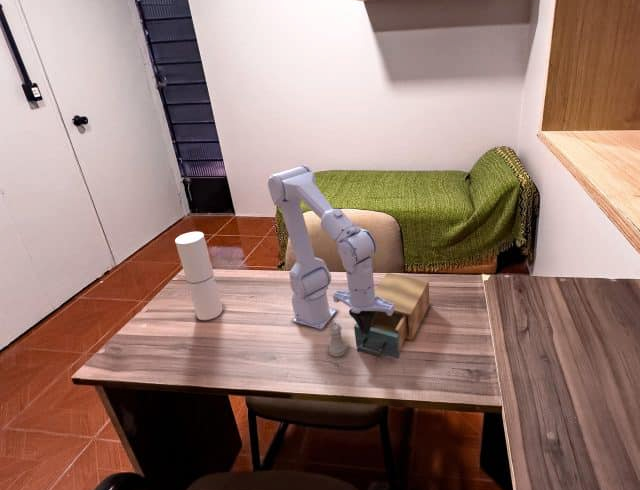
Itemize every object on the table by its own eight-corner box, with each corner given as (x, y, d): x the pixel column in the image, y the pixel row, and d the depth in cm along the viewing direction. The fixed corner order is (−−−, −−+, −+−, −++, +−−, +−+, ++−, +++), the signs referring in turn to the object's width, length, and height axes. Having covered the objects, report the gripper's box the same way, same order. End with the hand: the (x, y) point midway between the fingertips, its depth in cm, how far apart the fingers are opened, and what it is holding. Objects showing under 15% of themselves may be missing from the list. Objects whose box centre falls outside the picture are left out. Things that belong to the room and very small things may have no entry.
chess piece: (344, 358, 96) (340, 333, 93) (327, 356, 97) (322, 331, 94) (349, 345, 100) (345, 320, 97) (332, 343, 101) (328, 319, 98)
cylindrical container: (191, 318, 113) (168, 242, 104) (207, 303, 120) (187, 230, 110) (212, 321, 112) (191, 244, 102) (227, 306, 118) (209, 232, 108)
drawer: (391, 372, 90) (389, 350, 87) (348, 359, 95) (345, 337, 92) (417, 322, 105) (416, 302, 102) (378, 313, 109) (376, 293, 106)
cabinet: (412, 340, 100) (410, 313, 97) (368, 328, 105) (365, 303, 101) (429, 305, 112) (428, 280, 108) (389, 296, 117) (387, 272, 113)
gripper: (323, 287, 85) (330, 334, 91) (383, 301, 79) (387, 351, 85) (339, 269, 91) (345, 315, 97) (396, 281, 85) (399, 329, 91)
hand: (366, 330), depth 91 cm, fingers closed
